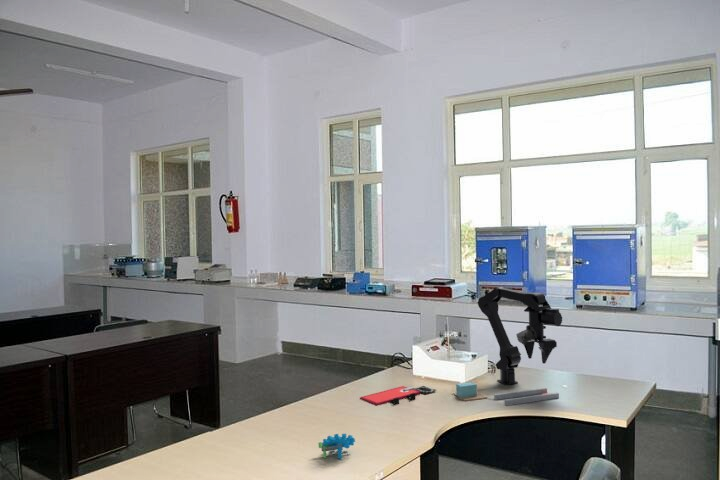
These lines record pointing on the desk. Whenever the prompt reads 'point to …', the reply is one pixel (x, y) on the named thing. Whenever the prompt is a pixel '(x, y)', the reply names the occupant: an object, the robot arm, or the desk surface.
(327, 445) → the blue plastic figure
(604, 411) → the desk surface
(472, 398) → the walnut pad
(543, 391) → the channel
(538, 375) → the desk surface
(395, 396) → the red board with handle
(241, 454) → the desk surface
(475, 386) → the teal block
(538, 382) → the desk surface
